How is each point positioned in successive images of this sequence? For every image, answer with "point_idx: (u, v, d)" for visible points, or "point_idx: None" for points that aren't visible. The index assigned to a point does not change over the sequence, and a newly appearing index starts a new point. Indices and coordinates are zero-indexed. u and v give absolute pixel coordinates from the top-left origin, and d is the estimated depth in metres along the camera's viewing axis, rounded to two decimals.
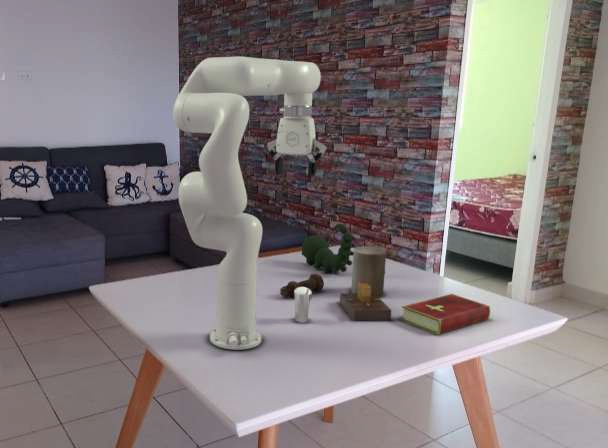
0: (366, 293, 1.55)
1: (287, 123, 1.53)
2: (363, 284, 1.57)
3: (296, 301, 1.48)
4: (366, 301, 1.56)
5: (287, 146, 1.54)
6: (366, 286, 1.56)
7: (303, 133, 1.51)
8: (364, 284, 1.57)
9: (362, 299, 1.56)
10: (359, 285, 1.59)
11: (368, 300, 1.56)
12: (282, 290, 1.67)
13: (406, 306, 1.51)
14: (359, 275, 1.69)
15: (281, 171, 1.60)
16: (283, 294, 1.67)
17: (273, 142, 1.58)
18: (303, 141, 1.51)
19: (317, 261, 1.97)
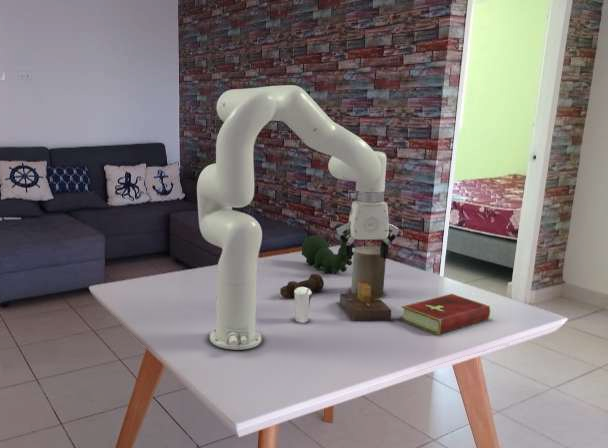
0: (366, 293, 1.55)
1: (366, 209, 1.50)
2: (363, 284, 1.57)
3: (296, 301, 1.48)
4: (366, 301, 1.56)
5: (366, 231, 1.52)
6: (366, 286, 1.56)
7: (383, 218, 1.51)
8: (364, 284, 1.57)
9: (362, 299, 1.56)
10: (359, 285, 1.59)
11: (368, 300, 1.56)
12: (282, 290, 1.67)
13: (406, 306, 1.51)
14: (359, 275, 1.69)
15: None
16: (283, 294, 1.67)
17: (344, 227, 1.53)
18: (382, 226, 1.52)
19: (317, 261, 1.97)
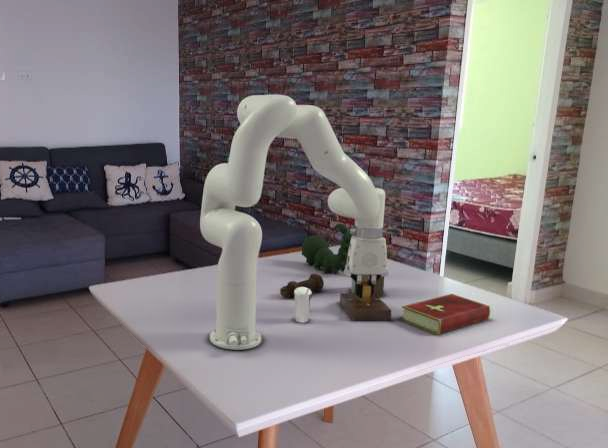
0: (366, 293, 1.55)
1: (364, 244, 1.52)
2: (363, 284, 1.57)
3: (296, 301, 1.48)
4: (366, 301, 1.56)
5: (364, 267, 1.53)
6: (366, 286, 1.56)
7: (381, 254, 1.53)
8: (364, 284, 1.57)
9: (362, 299, 1.56)
10: None
11: (368, 300, 1.56)
12: (282, 290, 1.67)
13: (406, 306, 1.51)
14: None
15: None
16: (283, 294, 1.67)
17: (348, 268, 1.56)
18: (381, 261, 1.53)
19: (317, 261, 1.97)
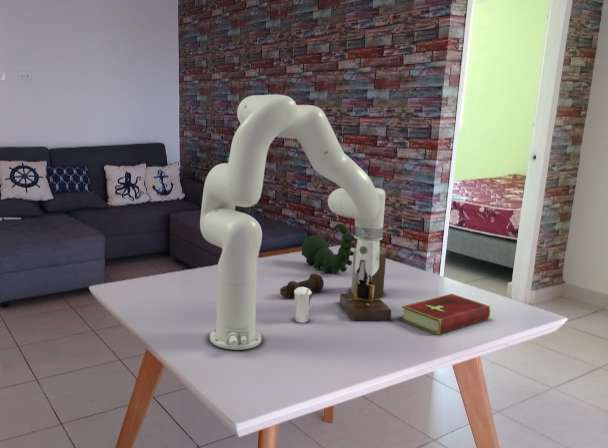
0: (373, 292, 1.56)
1: (376, 245, 1.52)
2: None
3: (296, 301, 1.48)
4: (372, 299, 1.57)
5: (375, 266, 1.54)
6: (370, 285, 1.57)
7: (379, 250, 1.57)
8: None
9: (369, 299, 1.56)
10: None
11: (373, 298, 1.57)
12: (282, 290, 1.67)
13: (406, 306, 1.51)
14: None
15: None
16: (283, 294, 1.67)
17: (364, 272, 1.52)
18: (378, 257, 1.57)
19: (317, 261, 1.97)
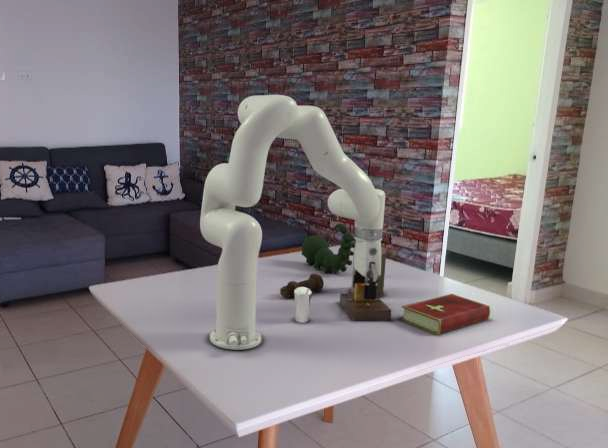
0: None
1: None
2: (364, 284, 1.57)
3: (296, 301, 1.48)
4: None
5: None
6: None
7: None
8: (364, 284, 1.57)
9: None
10: (360, 288, 1.56)
11: None
12: (282, 290, 1.67)
13: (406, 306, 1.51)
14: None
15: None
16: (283, 294, 1.67)
17: None
18: None
19: (317, 261, 1.97)
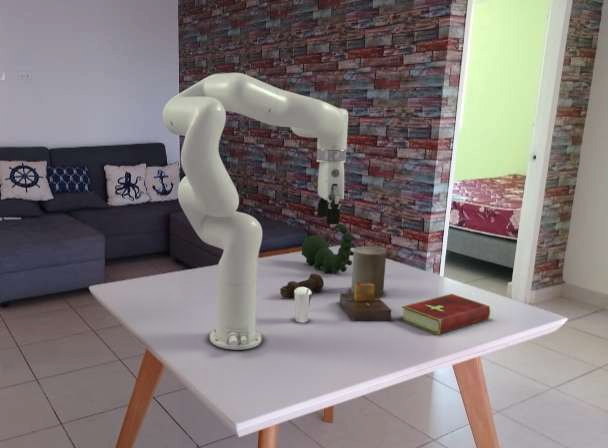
0: None
1: None
2: (364, 284, 1.57)
3: (296, 301, 1.48)
4: None
5: None
6: (370, 284, 1.57)
7: None
8: (364, 284, 1.57)
9: (371, 298, 1.57)
10: (360, 288, 1.56)
11: None
12: (282, 290, 1.67)
13: (406, 306, 1.51)
14: (359, 275, 1.69)
15: None
16: (283, 294, 1.67)
17: None
18: None
19: (317, 261, 1.97)
